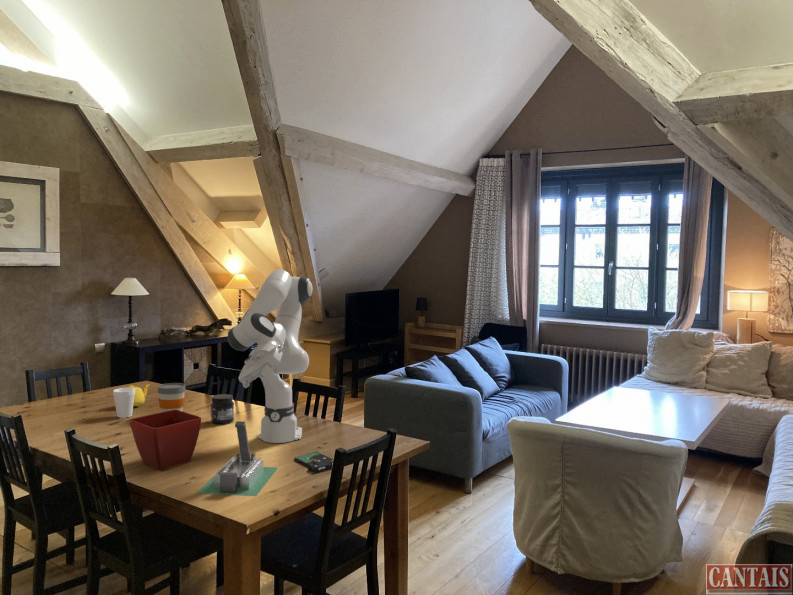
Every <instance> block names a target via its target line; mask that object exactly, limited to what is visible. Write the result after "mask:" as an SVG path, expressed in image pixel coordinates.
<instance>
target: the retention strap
mask: <svg viewBox="0 0 793 595" xmlns="http://www.w3.org/2000/svg"><path fill="white" fill-rule="evenodd" d="M246 425H247V424H246V421H240V420H239V421H236V422H235V424H234V428H236V432H237V433H236V434H237V439H238V446H239V452H240V454H241V461H251V453H250V446H249V439H248V431H247V426H246Z"/></svg>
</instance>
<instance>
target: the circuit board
mask: <svg viewBox="0 0 793 595" xmlns="http://www.w3.org/2000/svg"><path fill="white" fill-rule="evenodd" d="M263 468H264V472H263V473H262V475H261V476H260V477H259V478H258V479H257V481H256V482H255V483H254V484H253V485H252V487H251V488H250V489H237V492H236V493H220V488H214V475H213V476H212V477H211V478H210V479H209V480H208V481H207V482H206V483H205V484H204V485H203V486H202V487H200V489H198V490H197V491H196V493H195V494H202V495H223V496H244V497H245V496H246V497H247V496H249V497H250V496H251V497H257V496H258V494H259V493H260V492H261V490H262V489H263V488H264V487H265V486H266V484H268V482H269V480H270V479H271V478H272V477H273V475H274V474H275V473H276V472H277V470H278V469H279V467H273V466H263Z"/></svg>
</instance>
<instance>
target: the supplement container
mask: <svg viewBox="0 0 793 595" xmlns="http://www.w3.org/2000/svg"><path fill="white" fill-rule="evenodd" d="M233 397H234V396H233V395H232V394H226V393H225V394H224V393H223V394H220V393H219V394H215V395H213V396H211V397H210V398H211V400H210V401H211V402H210V422H211V423H212V424H214V425H226V423H228V424H230V422H231V423H232V422H234V420H235V417H234V416H235V414H234V412H235V411H234V409H235V403H234V398H233Z"/></svg>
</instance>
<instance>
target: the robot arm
mask: <svg viewBox="0 0 793 595" xmlns="http://www.w3.org/2000/svg"><path fill="white" fill-rule="evenodd" d="M313 290H314V289H313V284H312V281H311V279H310V278H309V277H307V276H291V274H290V273H289V272H288V271H286V269H285V270H284V269H279V268H278V269H275V270H273V271H272V272H271V273H270V274H269V275H268V276H267V277H266V279H265V280H264V282H263V284H262V285H261V287H260V289H259V291H258V292H257V295H256V296H255V298H254V299H253V301H252V303H251V305H250V306H249V308H248V309H247V310H246V312H245V314H244V315H243V316H242V318H241V320H239V322H238V324H237V325H235V326H234V327H232V328H230V329H229V330H228V332H227V341H228V344H229V346H230V347H231V348H233V349H234V350H236V351H240V352H245V351H246V350H248V349H249V348H250V347H251V346H253V345H255V344H257V346H256V348H254V349H253V350H251V352H250V354H248V357H247V358H246V359H245V360H244V365H243V367H242V369H241V371H240V372H239V376H238V377H237V378H238V381H239V382H240V383H241V384H242V387H243V388H245V389H247V388H248V387H250V384H251V382H253V381H254V380H256V379H257V378H259V379H261V382H262V385H263V388H264V393H265V405H264V416H263V417H262V418H261V420H260V421H261V422H260V433H259V434H257V436H256V438H257V439H259V440H261V441H263V442H265V443H268V444H269V443H271V444H282V443H288V442H293V441H298V439H299V440H301V439H302V433H303V427H300V426H298V418H297V417H296V415H295V414H294V413H295V412H294V407H295V406H294V405H295V404H294V402H293V389H292V387H291V385H290V384H289V383H288V382H286V381H285V380H283V379H282V378H281V377H280V374H281V375H283V374H284V375H296V374H302V373H304V372H306V371H307V370H308V367H309V365H310V356H309V354H308V352H307V351H306V350H304V348H303V347H302V346H301V345H300V342H299V334H300V333H299V332H300V327H301V322H302V315H303V314H302V313H303V312H302V311H303V310H302V306H304V305H306V303H307V302H308V301H309V300H310V299H311V297H312V295H313ZM278 308H279V309H278ZM276 309H278V311H277V314H276V316H275V321H274V322H273V321H272V320H271V319H270V318H269V317H268V315H269V314H270V313H272V312H273V311H275V310H276Z"/></svg>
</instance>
